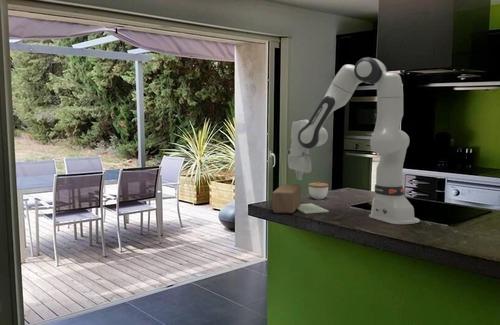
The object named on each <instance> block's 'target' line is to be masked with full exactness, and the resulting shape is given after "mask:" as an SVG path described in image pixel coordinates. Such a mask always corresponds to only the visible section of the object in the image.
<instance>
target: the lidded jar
mask: <svg viewBox="0 0 500 325" xmlns="http://www.w3.org/2000/svg"><path fill="white" fill-rule="evenodd" d="M308 193H309V196H311V198H312V199H313V198H314V200H324V199H325V198H326V196H328V193H329V184H328V183H325V182H320V181H319V180H317V182H310V183H308Z"/></svg>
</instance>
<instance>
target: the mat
mask: <svg viewBox="0 0 500 325" xmlns="http://www.w3.org/2000/svg"><path fill="white" fill-rule="evenodd" d="M296 210H297V211H298V212H299V211H300V212H302V213H303V214H305V215H307V214H319V213H329V212H330V211H329V209H326V208H323V207H321V206H319V205H316V204H314V203H312V202H311V203H301V204H300V205H299V206H298V208H297V209H296Z"/></svg>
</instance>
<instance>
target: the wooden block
mask: <svg viewBox="0 0 500 325" xmlns="http://www.w3.org/2000/svg"><path fill="white" fill-rule="evenodd" d="M301 186H302V185H300V184H297V183H296V184H295V183H294V184H281V185H280V186H279V187H277V188H276V189H275V190H274V191H273V192H272V194H271V196H272V198H271V199H272V200H271V201H272V202H271V203H272V212H273V213H275V214H293V213H294V212H296V210H297V208H298V206H299V205H300V204H302V190H301V188H302V187H301Z"/></svg>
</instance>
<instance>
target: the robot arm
mask: <svg viewBox="0 0 500 325" xmlns="http://www.w3.org/2000/svg"><path fill="white" fill-rule="evenodd" d="M361 83H365V84H367V85H368V84H369V85H374V86H375V88H376V120H375V124H374V125H375V126H374V130H373V134H372V136H371V137H370V141H369V145H370V146H369V147H370V149H371V150H372V151H373V152H374V153H376V154H378V155H380V159H379V162H378V164H377V166H376V168H375V169H376V170H375V171H376V174H375V184H374V197H373V198H372V204H371V211H370V214H369V215H368V218H370V219H375V220H378V221H381V222H384V223H389V224H392V225H411V224H413V225H414V224H417V223H421V220H420V219H419V218H417V217H415V208H414V206H413V205H412V204H411V202H410V201H409V200H408V199H407V197H406V196H405V193H406V189H404V187H403V184H402V183H403V170H404V169H403V168H404V162H405V159H406V154H407V149H408V148H409V146H410V136H409V135H408V134H407V133H406V132H405V131H404V130H401V129H400V128H401V122H402V120H403V117H404V88H403V81H402V77H401V75H400V74H399V73H397V72H395V71H388V68H387V66H386V64H385V63H384V62H382V61H381V60H379V59H377V58H373V57H369V56H367V57H366V56H365V57H362V58H360V59H359V60H358V61H357V62H356V63H355V65H354V64H348V63H347V64H344V65H342V67H341V68H340V69H339V71H337V73H336V74H335V76H334V77H333V80H332V82H331V83H330V86H329V87H328V89H327V91H326V92H325V95H324V97H323V98H322V100H321V101H320V102H319V105H318V106H317V107H316V109H315V111H314V112H313V114H312V115H311V117H310V119H308V118H307V119H306V118H301V119H296V120H293V122H292V125H291V129H290V130H291V131H290V138H291V144H290V148H289V149H287V152H286V153H287V166H288V168H289V169H291V170H295V171H294V172H295V176H296V180H299V181H302V180H303V176H304V174H308V173H309V174H310V173H311V172H312V169H313V168H312V159H311V157H310V154H309V152H310V151H309V150H310V149H313V148H314V147H320V146H323V145H324V144H326V142H327V141H328V139H329V133H328V130H327V129H326V128H325V127H324V125H325V122H326V121H327V119H328V118H329V117H330V115H331V114H332V113H333V112H334V111H337V110H338V109H340V108H342V107H344V106H345V105H347V103H348V102H349V100H351V97H353V94H354V93H355V91H356V89H357V87H359V84H361Z"/></svg>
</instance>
